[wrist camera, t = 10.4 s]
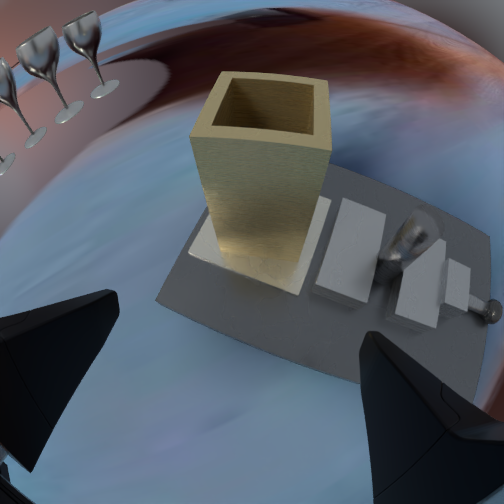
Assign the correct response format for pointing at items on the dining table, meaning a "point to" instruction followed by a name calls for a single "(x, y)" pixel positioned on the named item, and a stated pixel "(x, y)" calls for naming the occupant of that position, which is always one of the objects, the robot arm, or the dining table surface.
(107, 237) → the dining table surface
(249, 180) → the sleeve
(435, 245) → the grey base plate
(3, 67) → the goblet set
